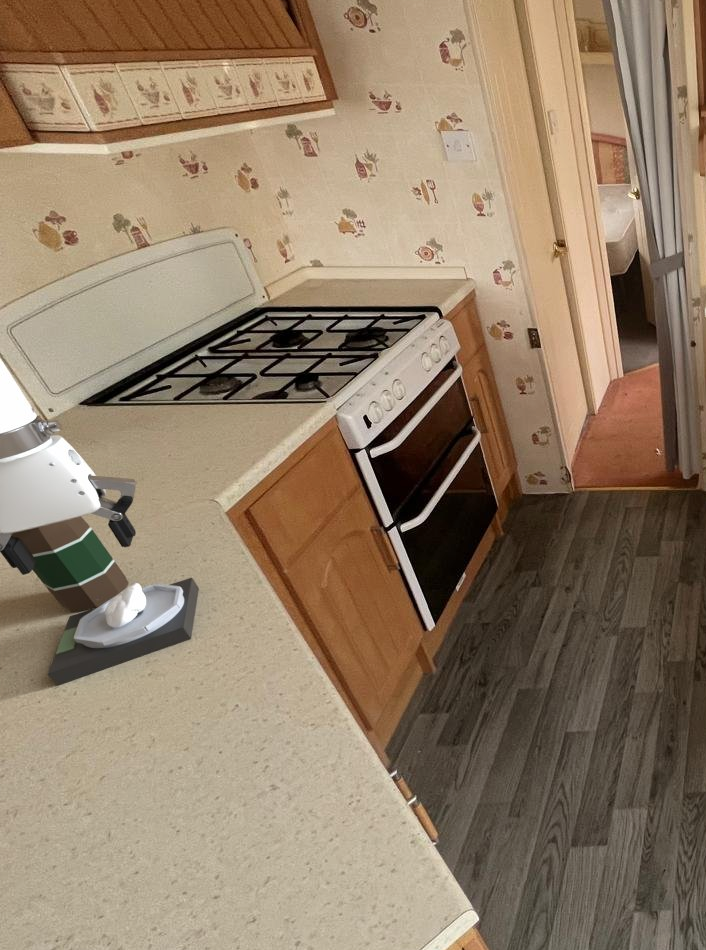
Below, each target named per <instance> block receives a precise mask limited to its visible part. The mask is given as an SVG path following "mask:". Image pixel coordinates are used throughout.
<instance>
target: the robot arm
mask: <svg viewBox="0 0 706 950" xmlns="http://www.w3.org/2000/svg"><path fill="white" fill-rule="evenodd" d="M62 430H63V426H62V424H61V422H60V421H59V420H57V419H55V420H50V421H49V420H45V419H43V417H41V415H37V413H36V412H35V410H34V408H33V407H32V405H31V403H30V401H29V400H28V399H27V398H26V395H25V394H24V393H23V390H21V388H20V386H19V384H18V383H17V381H16V379H15V378H14V376H12V374H11V372H10V371H9V369H8V368H7V366H6V364H5V363H4V361H3V360H2V357H0V554H1V555H2V556H3V558H4V559H5V561H6V562H7V563H8V565H9V566H10V567H11V568H12V569H15V568H17V570H18V571H19V573H20V575H22V576H24V575H28V574H31V572H32V571H33V570H32V569H33V567H34V565H35V563H36V559H35V558H34V556H33V555H32V554H31V552H30V551H29V550H28V548H27V547H26V545H25V544H24V543H23V541H22V540H21V539H20V538H18V537H13V536H12V534H13V533H16V532H20V531H25V530H29V529H33V528H37V527H41V526H45V525H49V524H53V523H57V522H61V521H65V520H69V519H74V518H77V517H84V516H85V517H86V516H88V515H91V514H92V515H95V516H98V517H101V518H103V519H106V520H108V522H107V523H108V524H107V525H108V527H109V529H110V531H111V532H112V534H113V536H114V537H115V538H116V540H117V542H118V544H120V546H121V547H122V548H128V547H131V545H132V541H133V539H134V537H135V536H136V529H135V527H134V526H133V523H131V521H130V519H129V518H128V516H127V514H126V513H127V512H128V510H129V509H130V507H131V505H132V504H133V501H134V499H135V493H136V489H137V481H136V479H134V478H125V477H114V476H101V475H96V474H95V472H94V471H93V470H92V468H91V467H90V465H88V463H87V461H85V459H83V457H82V456H81V455H80V454H79V453H78V452H77V450H76V449H75V448H74V447H73V446H72V445H71V443H69V442H68V441H67V440H66V439H65V438H64V437H63V436H61V435H59V434H56V435H52V434H55V432H60V431H62ZM106 490H110V491H111V490H112V491H118V492H120V497H119V498H118V500H117V501H115V500H112V499H110V498H107V497H106V496H107V495H106V494H107V491H106Z"/></svg>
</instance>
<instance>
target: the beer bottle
mask: <svg viewBox="0 0 706 950" xmlns="http://www.w3.org/2000/svg"><path fill="white" fill-rule="evenodd" d="M12 536H13V537H18V538H20V539H21V540H22V541H23V543H24V544H25V545H26V547H27V548H28V550H29V551H30V552H31V554H32V555H33V556H34V558H35V559H36V563H35V565H34V567H33V569H32V571H33V573H34V574H35V575H36V576H37V578H38V580H40V581H41V583H42V584H43V586H44V587H45V588H46V589H47V590H48V592H49V593H50V594H51V595H52V596H53V598H54V599H55V600H56V601H57V602H58V603H59V604H60V605H61V606H62V607H64V608H65V609H67V610H69V611H71V612H72V613H80V612H84V611H88V610H91V609H94V608H97V607H99V606H101V605H102V604H104V603H105V602H107V601H108V600H110V599H111V598H113V597H115V596H117V595H118V594H119V593H120V592H122V591H123V590H124V589H126V588H127V587H128V586H129V581H128V579H127V577H126V576H125V574H124V573H123V571H122V569H121V568H120V566H119V565H118V564H117V562H116V561H115V559H114V558H113V557H112V555H111V554H110V552H109V551H108V549H107V548H106V547H105V545H104V543H103V542H102V541H101V540H100V538H99V537H98V535H97V534H96V533H95V531H94V530H93V528H92V527H91V526H90V525H89V523H88V522H87V521H86V520H85V519H84V517H83V516H81V517H77V518H74V519H69V520H65V521H61V522H57V523H53V524H49V525H45V526H41V527H37V528H33V529H29V530H25V531H20V532H16V533H13V534H12ZM97 599H98V600H97Z"/></svg>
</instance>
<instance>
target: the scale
mask: <svg viewBox="0 0 706 950" xmlns="http://www.w3.org/2000/svg"><path fill="white" fill-rule="evenodd" d="M141 588H142V592H143V593H144V595H145V597H146V606H145V607H144V609H143V610H142V611H141V612H138V613H137V615H136V617H135V618H134V619H133V620H131V621H130V622H129V623H127V624H125V625H123V626H121V627H118V628H114V627H111V626H109V625H108V624H107V621H106V615H105V609H106V606H107V605H108V603H109V602H110V601H111V600H112V599H113V598H114V597H113V598H111V599H110V600H108V601H107V602H105V603H104V604H102V605H101V606H99V607H97V608H93V609H88V610H84V611H81V612H77V613H76V614H72V615H69V616H68V619H67V622H66V625H65V627H64V630H63V632H62V635H61V637H60V640H59V643H58V645H57V647H56V650H55V653H54V655H53V658H52V661H51V663H50V666H49V668H48V671H47V673H46V674H47V676H48V677H49V678H50V680H51V681H52V682H53V683H54V684H55V686H61V685H64V684H66V683H69V682H72V681H74V680H77V679H80V678H83V677H86V676H89V675H91V674H95V673H98V672H100V671H103V670H106V669H108V668H112V667H115V666H118V665H120V664H123V663H125V662H129V661H132V660H135V659H138V658H141V657H143V656H146V655H149V654H151V652H152V653H154V651H155V652H158V651H160V650H162V649H166V648H168V646H169V647H172V646H174V645H177V644H180V643H183V642H186V641H189V640H191V639H192V635H193V628H194V622H195V616H196V610H197V603H198V597H199V596H198V595H199V590H200V587H199V586H198V585H197V583H196V581H195V579H194V578H193V577H189V578H185V579H182V580H180V581H175V582H173V583H170V584H163V583H152V584H149V585H146V586H143V587H141ZM148 653H149V654H148ZM145 654H146V655H145ZM142 655H143V656H142ZM134 658H135V659H134Z"/></svg>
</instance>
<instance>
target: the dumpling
mask: <svg viewBox="0 0 706 950" xmlns="http://www.w3.org/2000/svg"><path fill="white" fill-rule="evenodd" d="M142 588H143V587H142V586H141V585H140V583H137V582H135V583H132V584H131V585H128V586H127V587H126V588H125V589H124V590H123V591H122V592H120V593H119V594H118V595H117V596H115V597H114V598H113V599H112V600H111V601H110V602H109V603H108V605H107V606H106V609H105V615H106V621H107V624H108V625H109V626H111V627H114V628H118V627H121V626H123V625H125V624H127V623H129V622H130V621H131V620H133V619H134V618H135V617H136V615H137V613H138V612H141V611H142V610H143V609H144V607H145V606H146V597H145V595H144V593H143V592H142ZM97 600H98V599H97Z"/></svg>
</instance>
